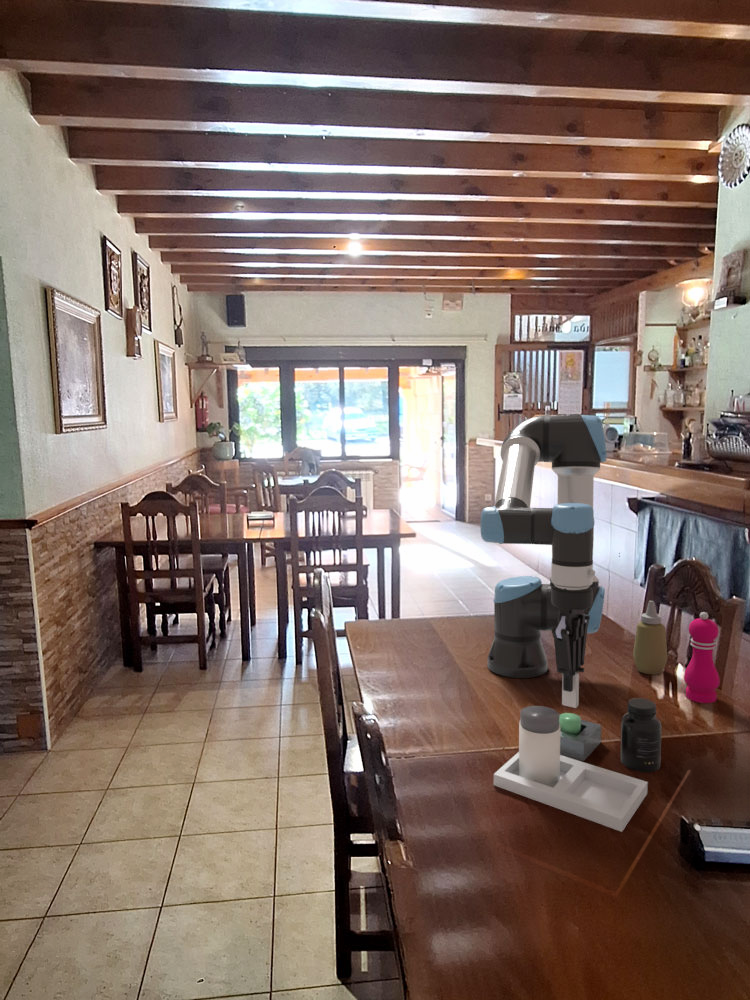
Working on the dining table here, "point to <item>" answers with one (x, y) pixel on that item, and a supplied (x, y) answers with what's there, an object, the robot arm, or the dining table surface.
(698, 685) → the pepper mill
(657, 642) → the squeeze bottle
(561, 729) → the button
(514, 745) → the dining table surface
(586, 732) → the grey button base
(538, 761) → the lidded jar
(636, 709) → the supplement bottle
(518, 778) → the tray
